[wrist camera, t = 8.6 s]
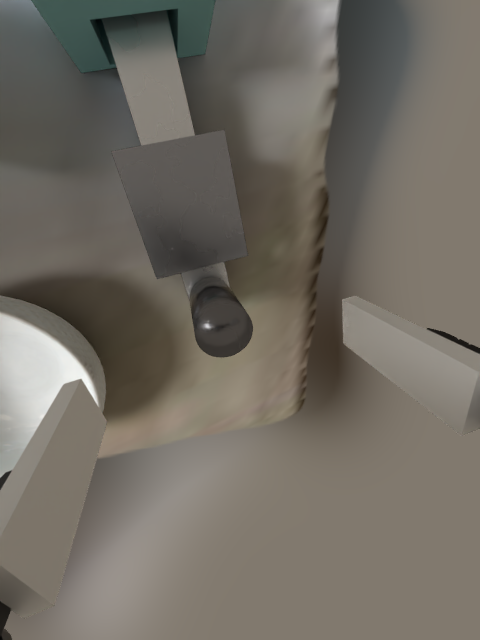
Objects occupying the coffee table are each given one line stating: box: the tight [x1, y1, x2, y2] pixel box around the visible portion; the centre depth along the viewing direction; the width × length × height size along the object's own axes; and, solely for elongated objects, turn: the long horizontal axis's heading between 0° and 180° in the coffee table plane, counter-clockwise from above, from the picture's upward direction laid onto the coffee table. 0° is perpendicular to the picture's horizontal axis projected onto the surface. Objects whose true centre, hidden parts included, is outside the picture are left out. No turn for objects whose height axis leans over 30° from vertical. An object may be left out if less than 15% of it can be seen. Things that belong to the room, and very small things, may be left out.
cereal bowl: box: [0, 296, 106, 478], centre depth 22 cm, size 17×17×7 cm
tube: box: [102, 10, 253, 357], centre depth 16 cm, size 4×23×10 cm, turn 12°
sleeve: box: [111, 130, 248, 279], centre depth 20 cm, size 7×8×6 cm
